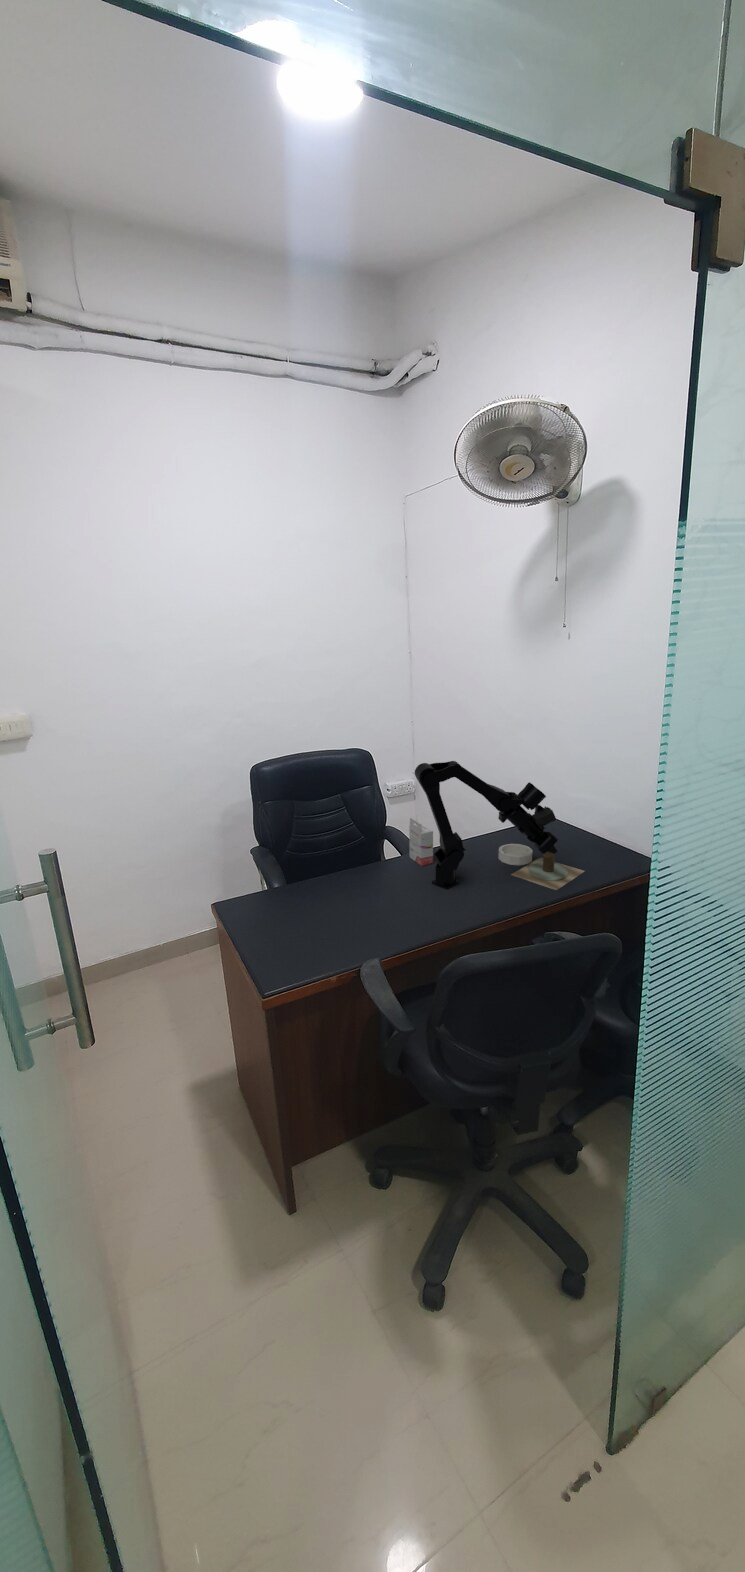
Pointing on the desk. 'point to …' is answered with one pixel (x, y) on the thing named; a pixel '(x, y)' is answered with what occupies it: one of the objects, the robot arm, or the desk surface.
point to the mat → (554, 885)
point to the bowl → (515, 854)
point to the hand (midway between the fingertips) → (553, 850)
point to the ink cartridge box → (420, 843)
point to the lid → (548, 869)
